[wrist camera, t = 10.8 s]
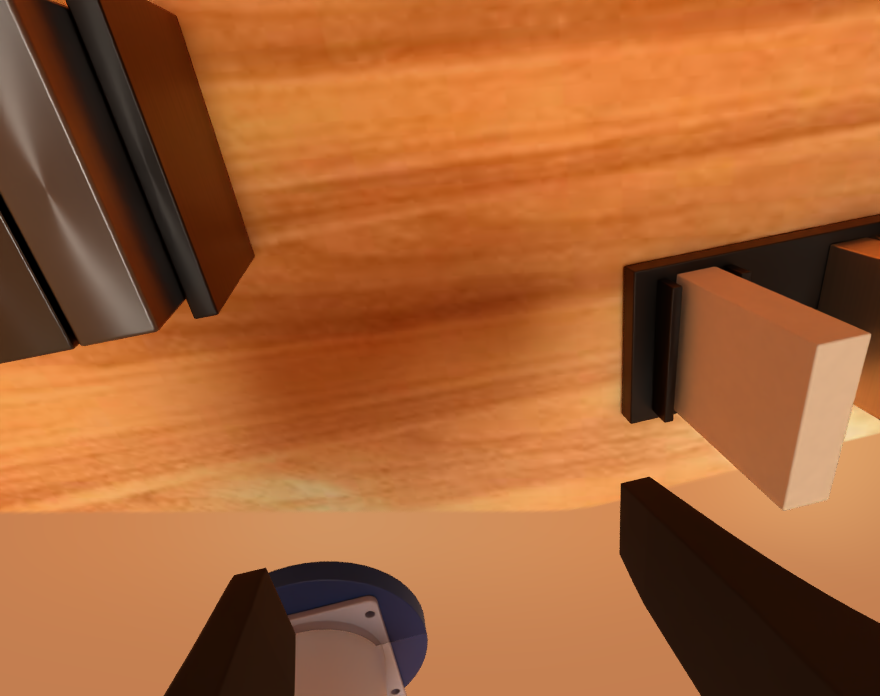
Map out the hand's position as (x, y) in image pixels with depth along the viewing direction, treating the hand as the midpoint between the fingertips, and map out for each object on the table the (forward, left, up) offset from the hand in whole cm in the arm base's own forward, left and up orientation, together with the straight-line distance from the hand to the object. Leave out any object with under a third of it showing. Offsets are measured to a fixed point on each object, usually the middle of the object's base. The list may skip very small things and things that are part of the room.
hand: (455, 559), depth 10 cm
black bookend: (+8, +10, -10) cm, 17 cm away
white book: (-2, -11, -10) cm, 15 cm away
